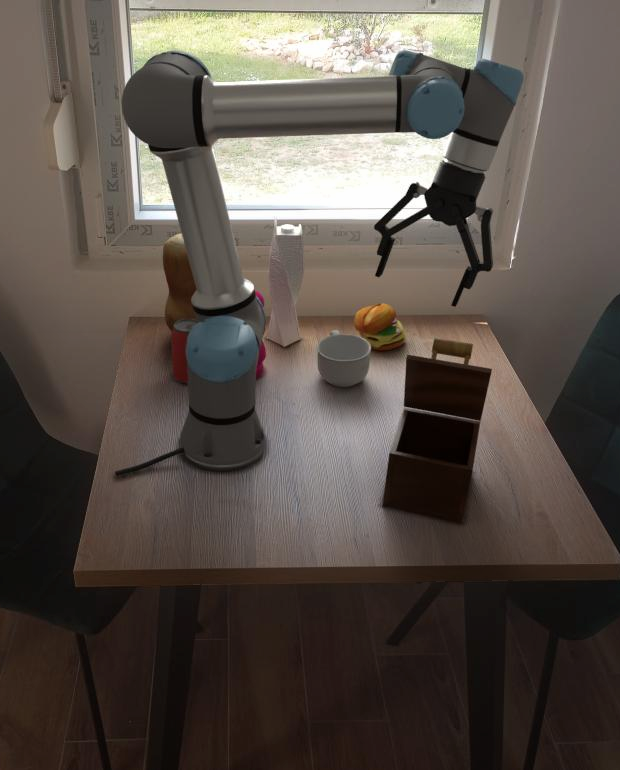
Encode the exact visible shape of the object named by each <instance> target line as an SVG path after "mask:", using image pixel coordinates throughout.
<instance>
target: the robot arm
mask: <svg viewBox="0 0 620 770" xmlns="http://www.w3.org/2000/svg"><path fill="white" fill-rule="evenodd" d="M524 78H525V76H524V73H523V72H522V71H521V69H519V68H516V67H512V66H509V65H506V64H502V63H499V62H496V61H494V60H493V61H492V60H490V59H487V58H480V59H478V60H477V63H476V65H475V66H474V67H473V68H466V67H462V66H460V65H456V64H453V63H450V62H446V61H444V60H441V59H437V58H435V57H432V56H428V55H425V54H424V53H422V52H414V51H410V50H407V49H402V50H400V51H398V52H397V54H396V55H395V58H394V60H393V61H392V64H391V67H390V69H389V72H388V75H376V76H375V75H374V76H372V75H371V76H352V77H351V76H350V77H347V76H345V77H326V78H325V77H324V78H323V77H321V78H301V79H300V78H299V79H298V78H297V79H273V80H272V79H270V80H248V81H245V80H244V81H223V82H222V81H221V82H220V81H219V82H217V81H215V80H214V79H213V77H212V75H211V72H210V71H209V69H208V68H207V66H206V65H205V64H204V62H202V60H200V58H199V57H196V56H195V55H193V54H192V53H189V52H186V51H183V50H168V51H163V52H161V53H158V54H155V55H153V56H152V57H151V58H149V59H148V60H147V61H146V62H145V63H144V65H143V66H142V67H140V68H139V69H138V70H137V71H135V72H134V73H133V74H132V75H131V76H130V77H129V79H128V80H127V82H126V83H125V86H124V88H123V90H122V91H123V92H122V96H121V113H122V116H123V120H124V122H125V124H126V126H127V127H128V129H129V130H130V132H131V133H132V134H133V135H134V136H135V137H136V138H137V139H138V140H139V141H140V142H142V143H144V144H147V145H148V150H149V152H150V153H151V154H153V155H154V156H156V157H158V158H159V159H160V160H161V162H162V166H163V169H164V173H165V176H166V180H167V184H168V187H169V192H170V196H171V198H172V203H173V206H174V211H175V213H176V218H177V221H178V225H179V228H180V233H182V236H183V240H184V244H185V248H186V251H187V255H188V259H189V262H190V266H191V270H192V274H193V277H194V281H195V285H196V288H197V290H196V291H195V293H194V294H193V296H192V298H191V302H192V306H193V310H194V313H195V317H196V321H197V324H196V325H195V326H194V327H193V328H192V329H191V331H190V332H189V335H188V338H187V345H186V359H187V372H188V383H187V393H188V412H187V414H186V417H185V420H184V423H183V426H182V428H181V432H180V437H179V448H177V449H174V450H172V451H169V452H167V453H164V454H162V455H160V456H157V457H155V458H152V459H150V460H147V461H145V462H143V463H139V464H137V465H132V466H129V467H126V468H122V469H119V470H115V472H114V474H115V476H116V477H119V476H123V475H128V474H131V473H135V472H137V471H140V470H143V469H146V468H149V467H151V466H154V465H156V464H159V463H160V462H163V461H165V460H168V459H171V458H173V457H175V456H178V455H180V454H181V455H182V457H183V458H184V459H185V460H186V461H187V462H188V463H189V464H191V465H192V466H195V467H197V468H198V469H202V470H206V471H210V472H233V471H239V470H243V469H244V468H245V469H246V468H247V467H249V466H252V465H253V464H255V463H256V462H257V461H259V459H260V458H261V457H262V456H263V454H264V452H265V447H266V435H265V430H264V426H263V424H262V422H261V421H260V417H259V416H258V412H257V410H256V396H257V395H256V393H257V391H256V389H257V378H256V370H257V364H258V358H259V353H260V348H261V343H262V340H263V339H264V335H265V331H266V325H267V318H266V317H267V316H266V313H265V309H264V308H263V305H262V303H261V301H260V300H259V299H258V297H257V296H256V293H255V290H256V288H255V285H254V283H253V282H251V280H248V279H247V278H245V277H244V276H243V274H244V273H243V270H242V266H241V262H240V258H239V254H238V250H237V244H236V240H235V237H234V231H233V228H232V223H231V219H230V215H229V211H228V206H227V202H226V198H225V194H224V190H223V185H222V181H221V177H220V173H219V168H218V163H217V160H216V156H215V152H214V144H216V143H217V142H218V140H221V139H224V140H225V139H246V138H247V139H249V138H278V137H279V138H281V137H282V138H283V137H306V136H307V137H309V136H312V137H313V136H336V135H337V136H339V135H341V136H342V135H365V134H366V135H367V134H368V135H369V134H393V133H395V134H396V133H398V134H399V133H401V134H402V133H403V134H407V133H408V134H409V133H416V134H417V135H418V136H421V137H423V138H425V139H428V140H440V139H442V138H446V137H447V136H449V137H448V140H447V142H446V145H445V147H444V150H443V153H442V157H443V160H441V161H440V162H439V163H438V166H437V168H436V172H435V174H434V177H433V179H432V182H431V185H430V186H429V187H428V188H427V187H425V186H423V185H421V184H420V183H419V182H418V181H414V182H412V183H411V184H410V185H409V186H408V188H407V190H406V193H405V194H404V195H403V196H402V197H401V199H400V200H398V201H397V202H396V204H394V205H393V206H392V207H391V208H390V209H389V210H388V211H387V212H386V213H385V214H384V215H383V216H382V217H381V218H380V219H379V220H378V221H377V222H375V224H374V226H373V229H374V231H377V232H378V233H379V234H380V235H381V239H380V241H379V244H378V248H377V250H376V255H377V256H379V257H380V260H379V263H378V266H377V269H376V271H375V274H374V277H375V278H380V277H381V276H383V274H384V271H385V268H386V266H387V263H388V260H389V257H390V255H391V252H392V249H393V246H394V244H395V241H396V238H394V237H393V236H394V235H395V234H397V233H399V232H401V231H403V230H405V229H406V228H407V227H410V226H411V225H413V224H415V223H416V222H418V221H420V220H422V219H424V218H425V217H427V216H429V218H430V219H431V220H432V221H434V222H438V223H439V222H440V223H443V224H444V225H446V226H448V227H454V226H456V229H457V231H458V233H459V236H460V240H461V241H462V244H463V248H464V251H465V253H466V256H467V260H468V262H469V265H470V266H469V265H468V266H467V267H466V268H465V271H464V273H463V276H462V278H461V281H460V283H459V285H458V287H457V290H456V292H455V294H454V297H453V300H452V301H451V306H452V307H454V308H456V307H457V305H458V304H459V301H460V299H461V296H462V294H463V291H464V289H467V290H470V289H471V288H473V285H474V283H475V281H476V279H477V276H478V274H479V272H487V273H488V272H491V271H492V269H493V267H494V260H493V258H494V257H493V244H492V232H491V231H492V230H491V221H492V217H493V213H494V209H493V208H492V207H487V208H485V207H481V206H477V200H478V197H479V194H480V193H481V190H482V188H483V185H484V182H485V180H486V174H485V172H488V171H489V170H490V168H491V165H492V163H493V160H494V158H495V155H496V153H497V150H498V147H499V145H500V141H501V138H502V136H503V134H504V131H505V129H506V127H507V125H508V123H509V120H510V118H511V116H512V113H513V111H514V108H515V106H516V105H517V102H518V98H519V95H520V92H521V90H522V87H523V83H524ZM420 196H424V201H425V204H426V205H425V207H423V208H422V209H420V210H418V211H416V212H415V213H413V214H412V215H409V216H408V217H406V218H405V219H403V220H401V221H399V222H398V223H396V224H394V225H392V226H391V227H388V226H387V225H388V224H389V223H390V222H391V221H392V220H393V219H394V218H395V217H396V216H397V215H398V214H400V212H401V211H402V210H404V209H405V207H407V205H408V204H410V203H411V202H412V200H413V199H418V198H420ZM474 214H476V216H477V218H476V219H477V221H478V222H480V235H481V237H480V238H481V248H482V261H481V260H480V257H479V254H478V251H477V248H476V245H475V243H474V240H473V236H472V234H471V231H470V227H469V223H468V220H467V219H468V218H470V217H471V216H472V215H474Z"/></svg>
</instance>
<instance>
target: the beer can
mask: <svg viewBox="0 0 620 770" xmlns="http://www.w3.org/2000/svg"><path fill="white" fill-rule="evenodd" d="M196 324H197V321H196V320H194V319H182V320H179V321H176V322H175V323H174V325H173V327H174V328H173V330H172V332H171V335H170V336H171V337H170V338H171V339H170V340H171V358H172V360H171V361H172V363H171V364H172V376H173V378H174V379H175V380H176V381H177V382H179V383H181V384H188V372H187V359H186V345H187V338H188V335H189V332H190V331H191V329H192V328H193V327H194V326H195V325H196Z"/></svg>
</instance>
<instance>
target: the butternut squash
mask: <svg viewBox="0 0 620 770" xmlns="http://www.w3.org/2000/svg"><path fill="white" fill-rule="evenodd" d="M162 267H163V272H164V275H165V276H164V277H165V280H166V283H167V288H168V295H167V298H166V302H165V307H164V308H165V309H164V320H165V324H166V327H168V329H169V331H170V332H171V333H172V330H173V328H174V327H173V325H174V323H175V322H176V321H179V320H182V319H194V320H196V317H195V313H194V310H193V306H192V302H191V298H192V296H193V294H194V293H195V291H196V290H197V288H196V285H195V281H194V277H193V274H192V270H191V266H190V262H189V259H188V255H187V251H186V248H185V244H184V240H183V236H182V233H181V232H180V233H177V234H174V235H173V236H171V237H170V238H168V239H167V240H166V241H165V242H164V244H163V248H162Z"/></svg>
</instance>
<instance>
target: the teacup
mask: <svg viewBox="0 0 620 770" xmlns="http://www.w3.org/2000/svg"><path fill="white" fill-rule="evenodd" d="M371 351H372V348H371V345H370V344H369V342H368V341H367V340H365V339H364V338H362V337H361V336H360V335H355V334H351V333H340V332H339V330H337V329H333V330H331V331H330V333H329V335H328V336H325V337H323V338H321V339H320V340H319V341H318V343H317V344H316V352H317V353H316V354H317V355H316V358H317V360H316V361H317V370H318V373H319V376H320V377H321V378H322V379H323V380H324V381H325V382H327V383H329V384H330V385H332V386H335V387H339V388H348V387H353V386H356V385H357V384H359V383H360V382H362V381H363V380H364V379H365V378H366V377H367V375H368V374H369V369H370V363H371Z"/></svg>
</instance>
